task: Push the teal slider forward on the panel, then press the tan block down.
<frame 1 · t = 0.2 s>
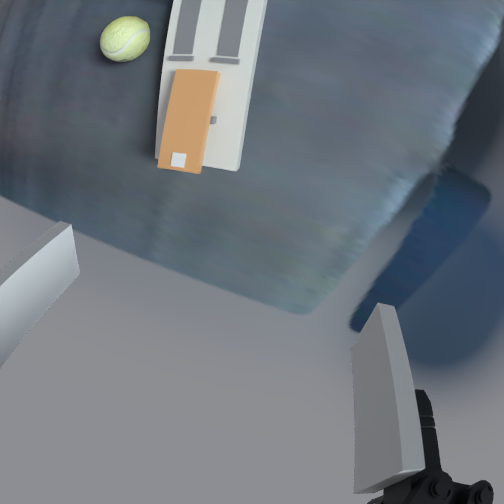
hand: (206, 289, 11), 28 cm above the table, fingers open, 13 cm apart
tennis ball: (137, 40, 29), on the table
panel: (213, 49, 29), on the table
tan block: (187, 119, 30), point 4 cm above the table, hinge at -14.0°
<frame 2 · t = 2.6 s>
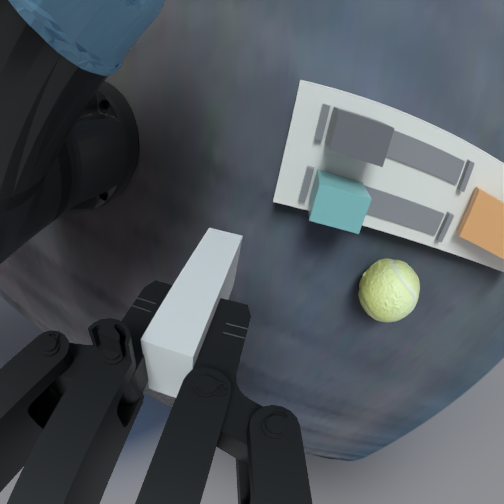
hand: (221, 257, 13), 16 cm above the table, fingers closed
tennis ball: (383, 272, 30), on the table
teal slider: (337, 199, 22), point 4 cm above the table, slide at 0.0 cm
panel: (434, 185, 24), on the table
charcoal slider: (357, 134, 19), point 4 cm above the table, slide at 0.0 cm
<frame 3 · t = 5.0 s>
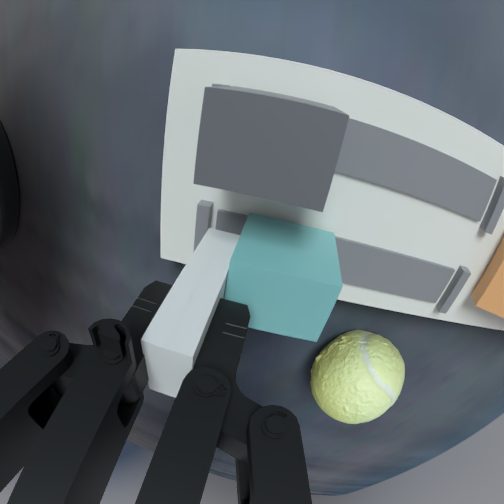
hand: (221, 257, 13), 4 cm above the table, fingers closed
tennis ball: (353, 343, 20), on the table
teal slider: (281, 274, 12), point 4 cm above the table, slide at 1.5 cm, touching gripper
panel: (441, 219, 14), on the table
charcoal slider: (273, 137, 10), point 4 cm above the table, slide at 0.0 cm
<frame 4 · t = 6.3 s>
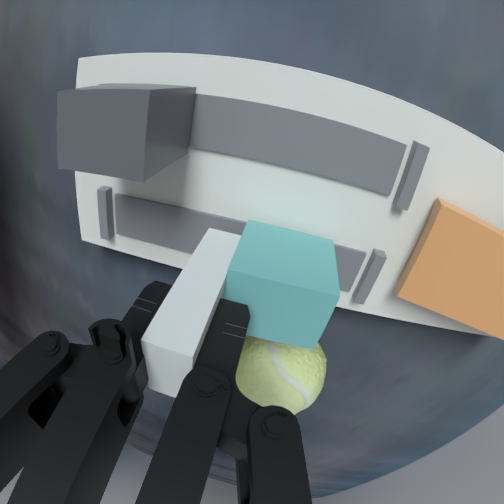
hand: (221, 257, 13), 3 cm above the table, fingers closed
tennis ball: (279, 335, 21), on the table
teal slider: (279, 281, 12), point 4 cm above the table, slide at 7.2 cm, touching gripper
panel: (353, 197, 14), on the table
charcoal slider: (126, 122, 10), point 4 cm above the table, slide at 0.0 cm
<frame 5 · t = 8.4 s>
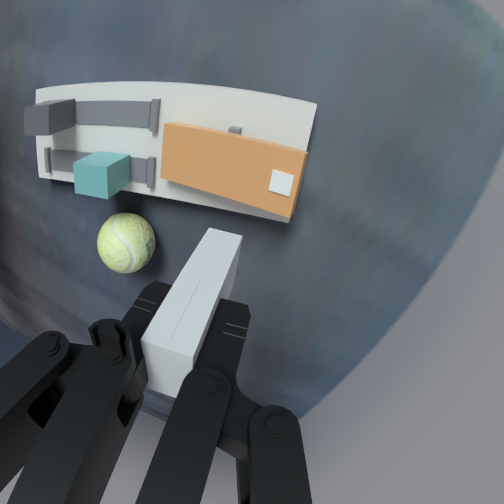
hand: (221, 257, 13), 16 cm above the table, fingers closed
tennis ball: (138, 228, 32), on the table
teal slider: (102, 173, 24), point 4 cm above the table, slide at 7.2 cm
panel: (148, 135, 26), on the table
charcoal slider: (49, 116, 21), point 4 cm above the table, slide at 0.0 cm
tan block: (225, 164, 22), point 4 cm above the table, hinge at -14.0°
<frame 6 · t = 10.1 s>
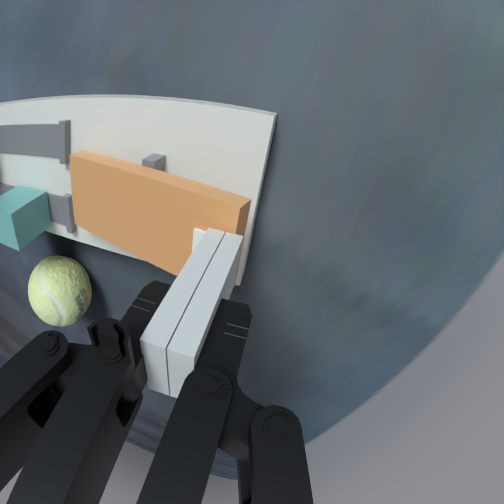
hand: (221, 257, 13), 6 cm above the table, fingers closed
tennis ball: (76, 271, 25), on the table
teal slider: (18, 215, 17), point 4 cm above the table, slide at 7.2 cm
panel: (70, 164, 19), on the table
tan block: (139, 213, 15), point 4 cm above the table, hinge at -14.0°, touching gripper
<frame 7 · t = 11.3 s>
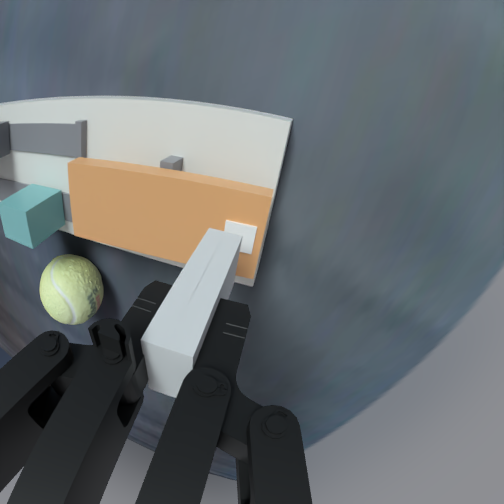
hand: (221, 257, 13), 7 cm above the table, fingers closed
tennis ball: (88, 270, 26), on the table
teal slider: (31, 213, 18), point 4 cm above the table, slide at 7.2 cm
panel: (85, 163, 20), on the table
tan block: (157, 214, 16), point 4 cm above the table, hinge at 3.6°
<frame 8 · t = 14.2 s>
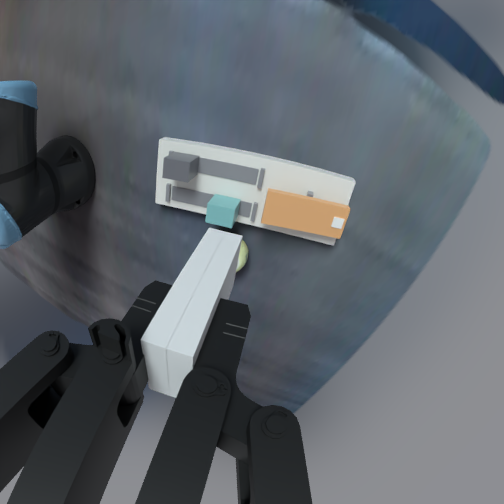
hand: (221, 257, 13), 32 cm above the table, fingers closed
tennis ball: (232, 244, 52), on the table
teal slider: (223, 210, 43), point 4 cm above the table, slide at 7.2 cm
panel: (250, 186, 45), on the table
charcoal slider: (181, 166, 41), point 4 cm above the table, slide at 0.0 cm
tan block: (305, 214, 41), point 4 cm above the table, hinge at 6.5°
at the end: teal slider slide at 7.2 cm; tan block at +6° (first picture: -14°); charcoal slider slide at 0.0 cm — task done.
